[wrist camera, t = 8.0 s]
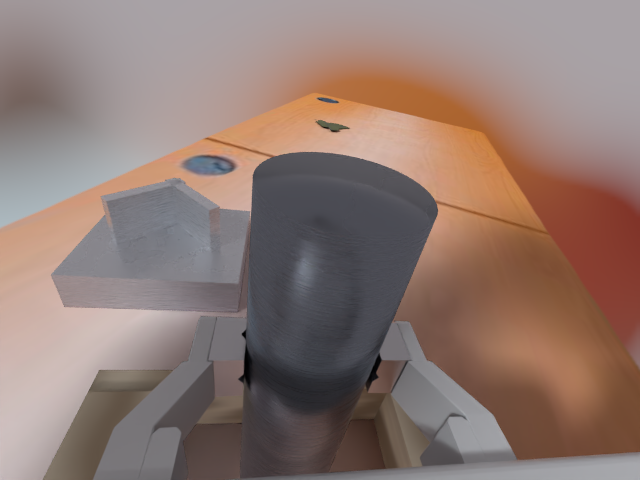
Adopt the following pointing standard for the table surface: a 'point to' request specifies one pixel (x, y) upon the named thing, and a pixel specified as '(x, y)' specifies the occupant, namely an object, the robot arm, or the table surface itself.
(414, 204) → the steel axle
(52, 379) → the table surface
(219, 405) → the notched beam
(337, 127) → the olive green flat piece
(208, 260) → the v block
